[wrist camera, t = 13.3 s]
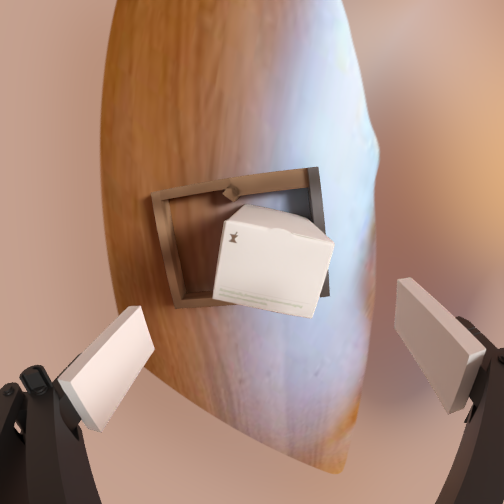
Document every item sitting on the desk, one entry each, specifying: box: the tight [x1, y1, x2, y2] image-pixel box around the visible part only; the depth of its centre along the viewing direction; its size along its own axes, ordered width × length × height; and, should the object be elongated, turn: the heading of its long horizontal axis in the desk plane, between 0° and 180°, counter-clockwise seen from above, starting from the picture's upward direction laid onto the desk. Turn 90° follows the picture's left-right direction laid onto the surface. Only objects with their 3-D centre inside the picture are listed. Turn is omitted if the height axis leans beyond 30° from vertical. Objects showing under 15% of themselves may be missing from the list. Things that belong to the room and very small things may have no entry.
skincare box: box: [212, 204, 335, 318], centre depth 28 cm, size 8×7×16 cm
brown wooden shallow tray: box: [151, 167, 330, 309], centre depth 34 cm, size 15×20×3 cm
